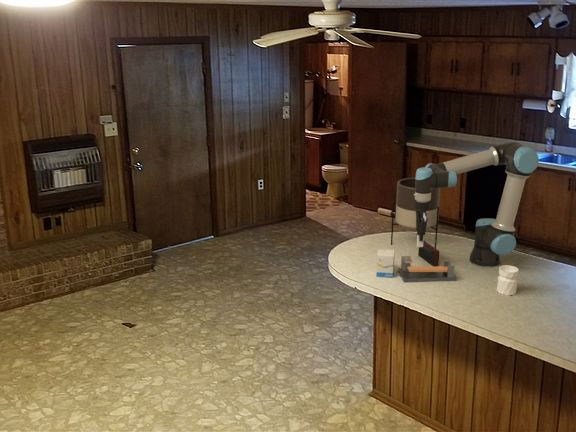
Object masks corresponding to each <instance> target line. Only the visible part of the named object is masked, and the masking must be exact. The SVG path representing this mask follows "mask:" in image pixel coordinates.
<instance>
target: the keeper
mask: <svg viewBox="0 0 576 432" xmlns="http://www.w3.org/2000/svg"><path fill="white" fill-rule="evenodd" d="M400 256H401V257H400V268H401V270H402V271H409V270H408V266H411V264H413V259H412V258H411V255H400Z"/></svg>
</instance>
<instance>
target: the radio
mask: <svg viewBox="0 0 576 432" xmlns="http://www.w3.org/2000/svg"><path fill="white" fill-rule="evenodd" d="M428 242H432V240H430V239H429V240H426V239H425V240H424V239H423V247H418V254H417V255H418V257H419V258H420V259H422V260H424V261H425V262H426V263H428V264H429V265H430V266H431V267H440V265H439V264H440V253H441V251H440V250H439V249H438V248H437V247H436V248H435V246H433V245H431V244H430V243H428Z"/></svg>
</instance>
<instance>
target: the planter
mask: <svg viewBox="0 0 576 432" xmlns="http://www.w3.org/2000/svg"><path fill="white" fill-rule="evenodd" d="M415 181H416V179H415V177H406V178H402V179H399V180H398V181H397V183H396V204H395V202H392V213H391V215H392V216H391V235H390V245H391V246H392V245H393V240H394V239H393V238H394V237H393V236H394V234H393V233H394V226H399V225H400V226H401V227H405V228H409V229H416V210H418V209H415V208H414V201H415V196H414V194H415ZM440 194H441V188H431V200H430V209H428V210H426V213H427V216H426V218H428V221H427V226H426V229H432V230H435V235H434V237H435V239H434V248H436V249H437V243H438V240H437V239H438V227H439V225H438V224H439V212H440V210H439V209H440V198H441V197H440V196H441V195H440ZM394 209H395V210H394ZM394 213H395V214H394ZM394 215H395V219H394ZM394 220H395V222H396V223H394Z"/></svg>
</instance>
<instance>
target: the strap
mask: <svg viewBox="0 0 576 432" xmlns="http://www.w3.org/2000/svg"><path fill="white" fill-rule="evenodd" d="M408 270H409V272H447V266H446V267H443V266H437V267H433V266H429V265H428V266H421V265H420V266H416V265H415V266H411V265H410V266H408Z"/></svg>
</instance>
